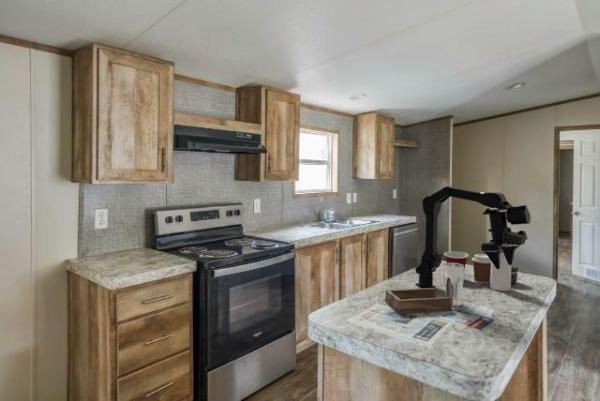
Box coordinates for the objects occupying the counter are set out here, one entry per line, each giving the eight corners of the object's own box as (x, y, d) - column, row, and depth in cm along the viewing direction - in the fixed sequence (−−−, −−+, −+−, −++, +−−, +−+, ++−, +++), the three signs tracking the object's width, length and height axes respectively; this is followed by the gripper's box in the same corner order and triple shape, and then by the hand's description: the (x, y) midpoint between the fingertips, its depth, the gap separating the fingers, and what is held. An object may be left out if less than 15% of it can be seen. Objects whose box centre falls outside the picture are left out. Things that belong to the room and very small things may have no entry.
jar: (517, 281, 172) (518, 264, 171) (516, 286, 164) (517, 269, 163) (493, 277, 177) (494, 262, 177) (491, 283, 169) (491, 266, 168)
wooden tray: (384, 300, 145) (384, 289, 145) (432, 298, 148) (433, 287, 148) (399, 313, 131) (399, 301, 131) (452, 310, 134) (452, 298, 134)
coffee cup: (475, 277, 177) (476, 252, 176) (496, 281, 171) (497, 255, 170) (467, 281, 171) (468, 255, 170) (488, 285, 164) (489, 259, 164)
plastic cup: (440, 279, 175) (440, 253, 174) (447, 274, 183) (447, 250, 183) (464, 283, 168) (465, 257, 167) (470, 278, 177) (471, 253, 176)
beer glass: (454, 307, 137) (455, 267, 136) (439, 302, 143) (440, 263, 142) (467, 304, 140) (468, 265, 139) (452, 299, 147) (453, 261, 146)
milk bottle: (513, 292, 156) (515, 244, 154) (493, 291, 157) (494, 244, 156) (506, 286, 163) (508, 241, 162) (487, 285, 165) (489, 240, 163)
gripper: (508, 227, 129) (514, 272, 128) (533, 222, 140) (538, 263, 139) (477, 228, 138) (483, 270, 138) (502, 223, 149) (508, 262, 148)
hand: (504, 266), depth 140 cm, fingers open, 9 cm apart
